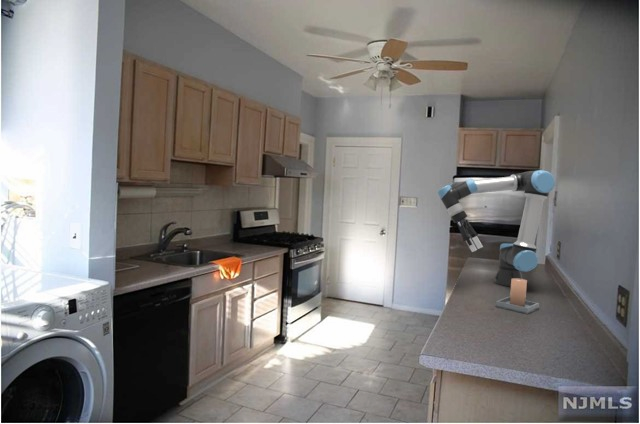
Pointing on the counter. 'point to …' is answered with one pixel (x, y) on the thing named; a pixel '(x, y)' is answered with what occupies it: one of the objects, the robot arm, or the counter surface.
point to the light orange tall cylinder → (518, 292)
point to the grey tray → (527, 309)
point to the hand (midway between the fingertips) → (477, 249)
